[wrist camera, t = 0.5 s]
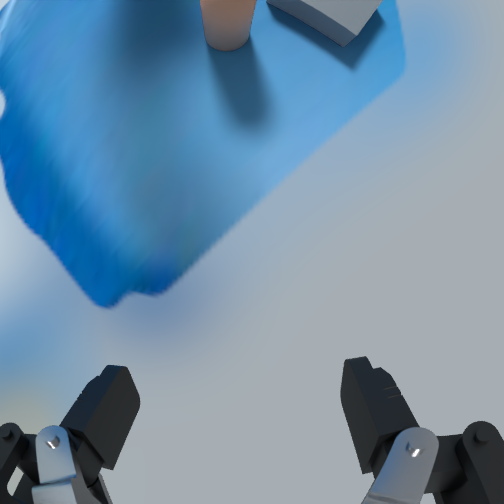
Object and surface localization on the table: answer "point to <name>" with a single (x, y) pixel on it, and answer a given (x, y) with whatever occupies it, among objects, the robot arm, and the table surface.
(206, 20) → the terracotta peg
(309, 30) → the table surface
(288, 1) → the slate base block
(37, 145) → the table surface
